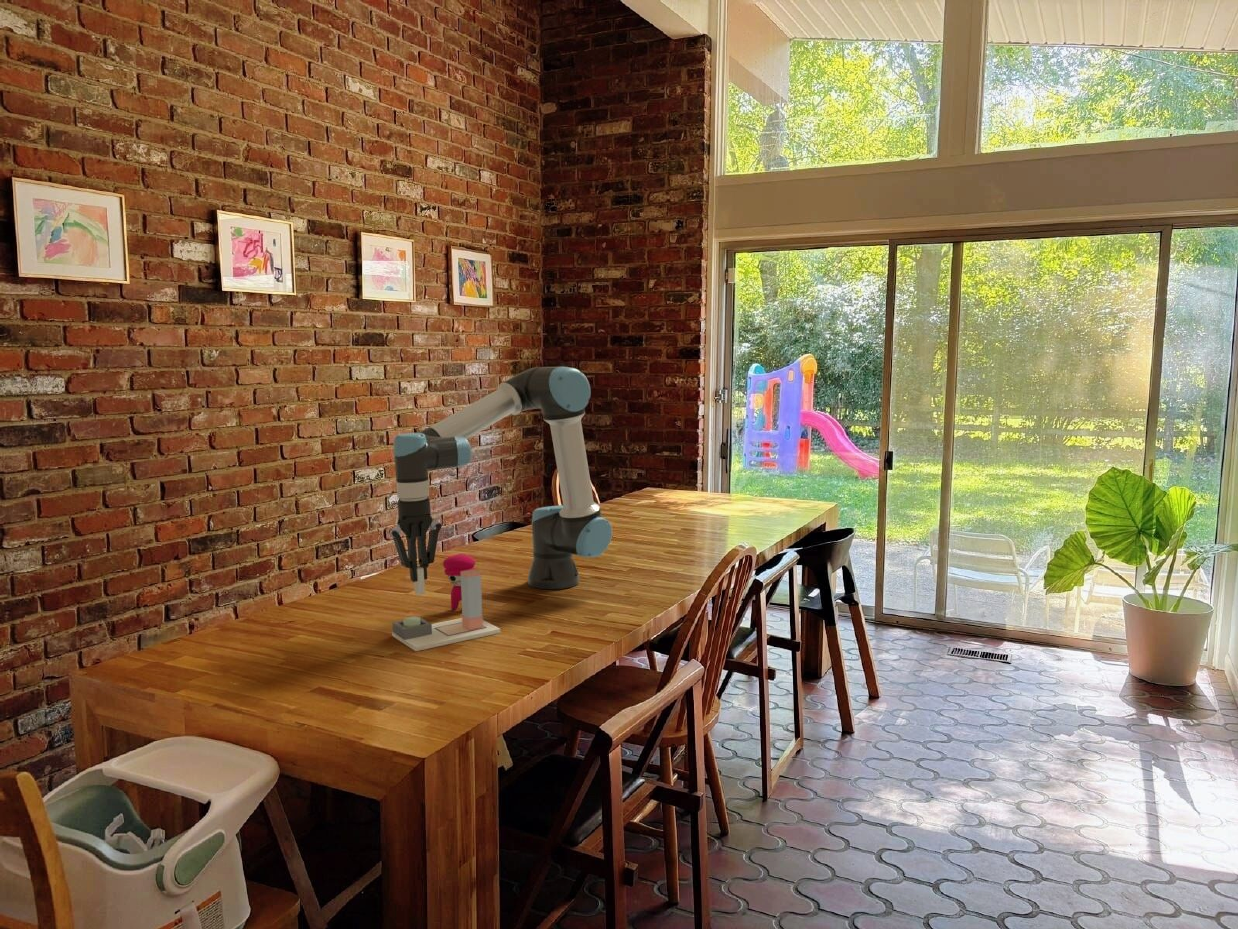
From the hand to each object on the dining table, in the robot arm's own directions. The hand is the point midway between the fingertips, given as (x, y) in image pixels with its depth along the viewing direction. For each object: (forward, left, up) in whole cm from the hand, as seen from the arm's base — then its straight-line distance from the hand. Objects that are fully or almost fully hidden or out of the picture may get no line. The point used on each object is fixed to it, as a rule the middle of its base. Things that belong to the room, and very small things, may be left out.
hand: (419, 593), depth 214 cm
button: (+3, +1, -9) cm, 9 cm away
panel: (-5, +4, -10) cm, 12 cm away
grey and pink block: (-11, +6, -9) cm, 15 cm away
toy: (-17, -13, -10) cm, 23 cm away
